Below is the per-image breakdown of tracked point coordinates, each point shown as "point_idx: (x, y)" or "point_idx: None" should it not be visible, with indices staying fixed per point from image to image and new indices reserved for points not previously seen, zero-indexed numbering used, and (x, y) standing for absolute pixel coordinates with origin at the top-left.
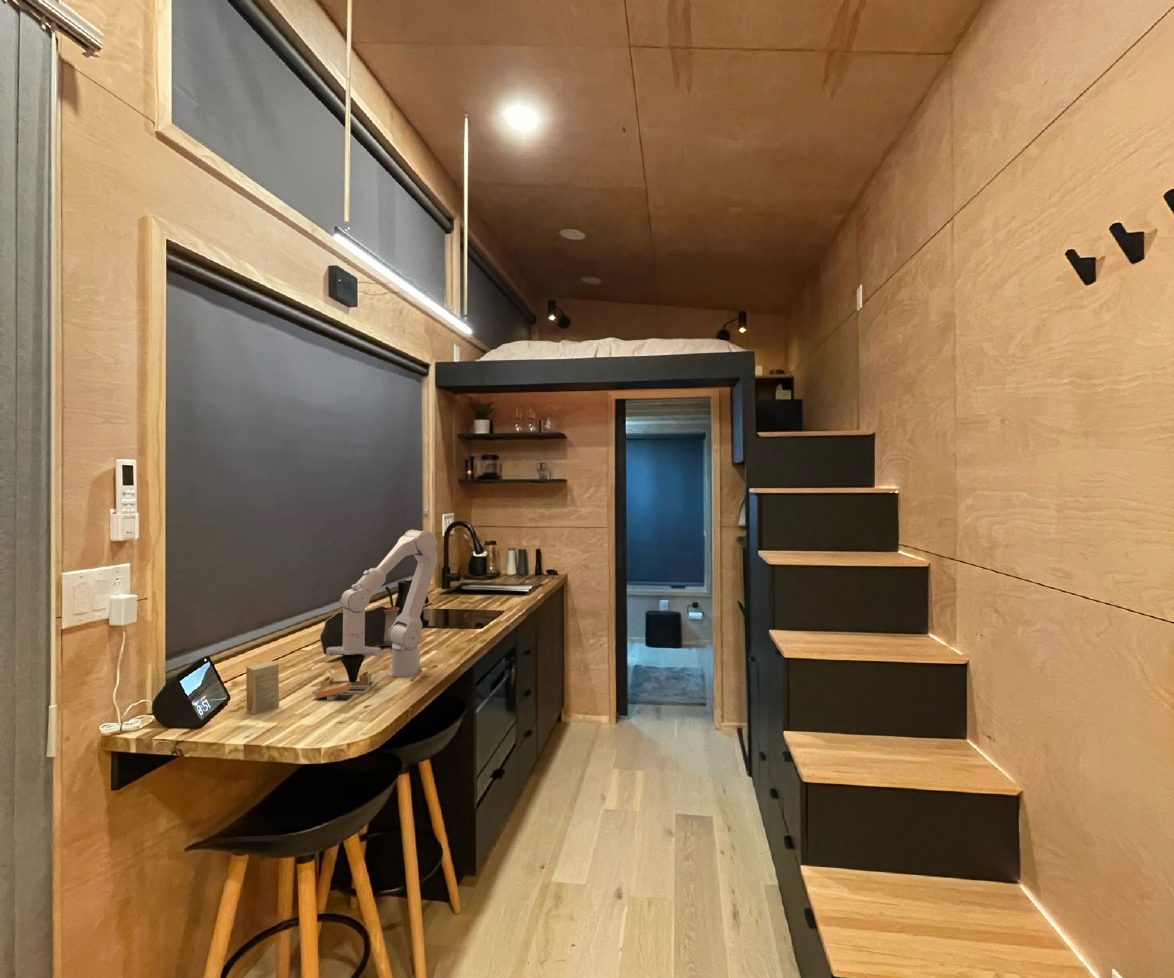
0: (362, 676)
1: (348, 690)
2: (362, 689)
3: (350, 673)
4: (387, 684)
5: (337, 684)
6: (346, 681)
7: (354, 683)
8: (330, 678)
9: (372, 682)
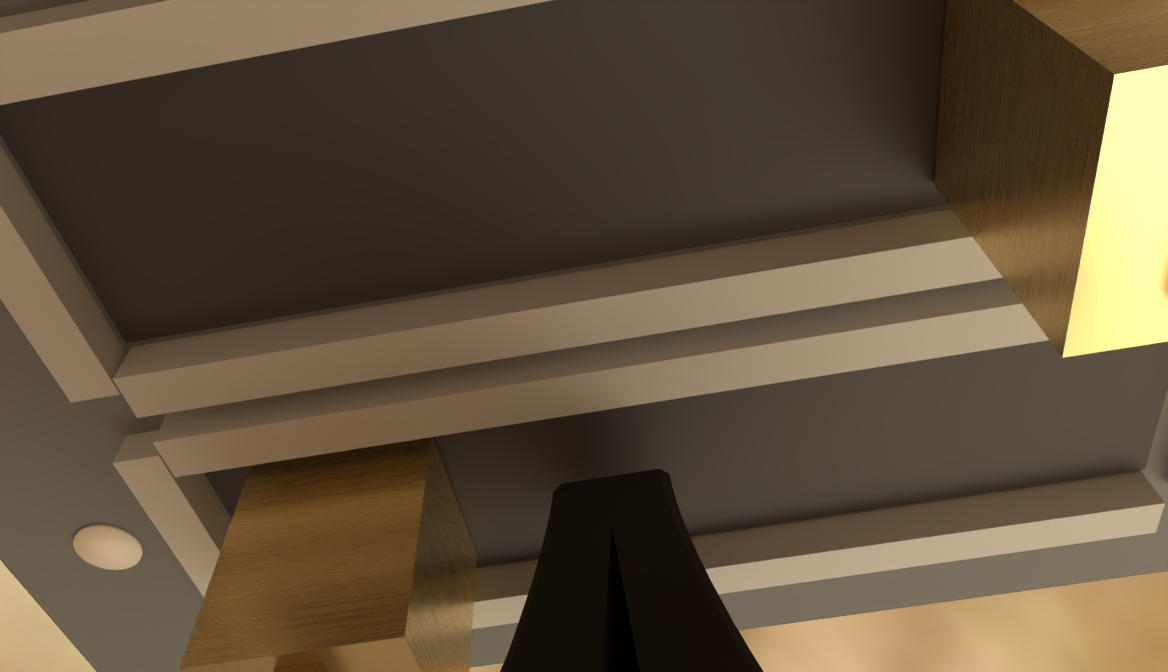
0: (331, 624)
1: (500, 182)
2: (215, 300)
3: (634, 635)
4: None
5: (954, 425)
6: (819, 541)
7: None
8: (1150, 302)
9: None
